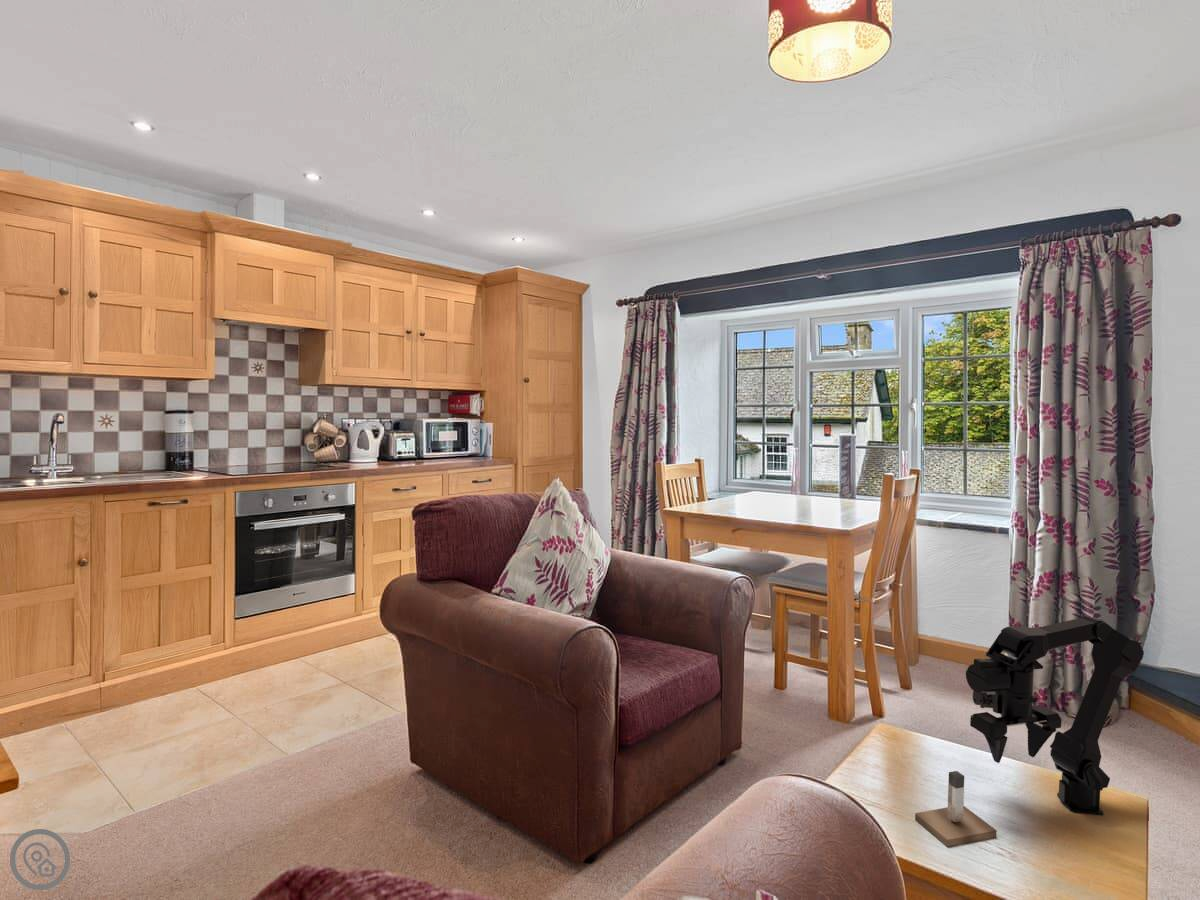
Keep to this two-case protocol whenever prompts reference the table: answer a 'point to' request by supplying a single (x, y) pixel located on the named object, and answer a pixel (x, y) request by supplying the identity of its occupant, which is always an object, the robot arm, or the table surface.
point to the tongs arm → (957, 797)
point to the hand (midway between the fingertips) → (1014, 759)
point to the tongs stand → (955, 824)
